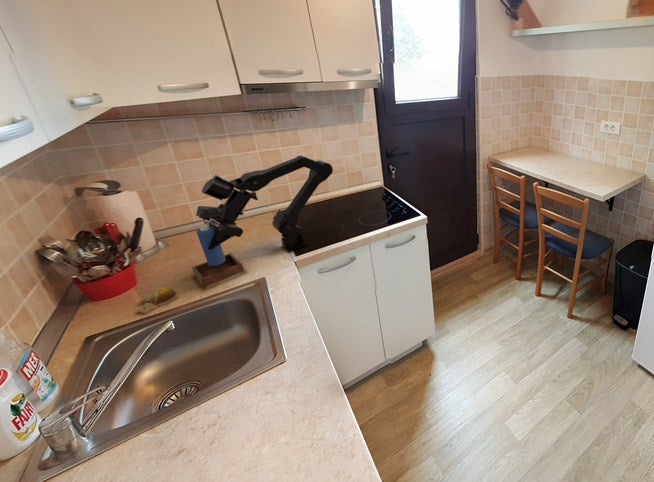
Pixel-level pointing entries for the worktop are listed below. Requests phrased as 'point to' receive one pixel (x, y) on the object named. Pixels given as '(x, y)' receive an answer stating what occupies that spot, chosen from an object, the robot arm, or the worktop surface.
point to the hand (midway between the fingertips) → (206, 247)
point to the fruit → (159, 297)
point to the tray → (217, 270)
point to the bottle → (205, 237)
